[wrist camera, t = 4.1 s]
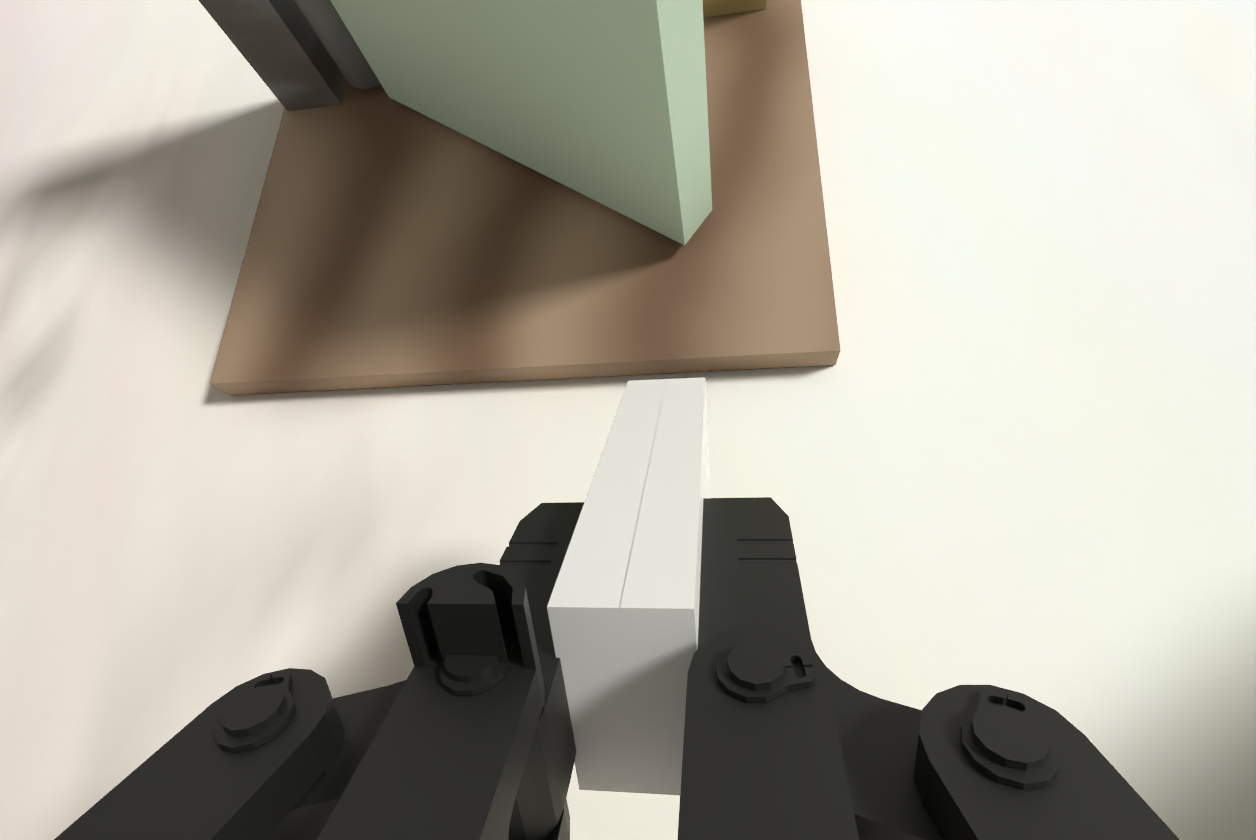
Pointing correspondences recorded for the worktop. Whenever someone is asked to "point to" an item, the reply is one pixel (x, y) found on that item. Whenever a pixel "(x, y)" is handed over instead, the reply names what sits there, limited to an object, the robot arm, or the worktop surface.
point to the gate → (550, 88)
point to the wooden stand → (520, 235)
